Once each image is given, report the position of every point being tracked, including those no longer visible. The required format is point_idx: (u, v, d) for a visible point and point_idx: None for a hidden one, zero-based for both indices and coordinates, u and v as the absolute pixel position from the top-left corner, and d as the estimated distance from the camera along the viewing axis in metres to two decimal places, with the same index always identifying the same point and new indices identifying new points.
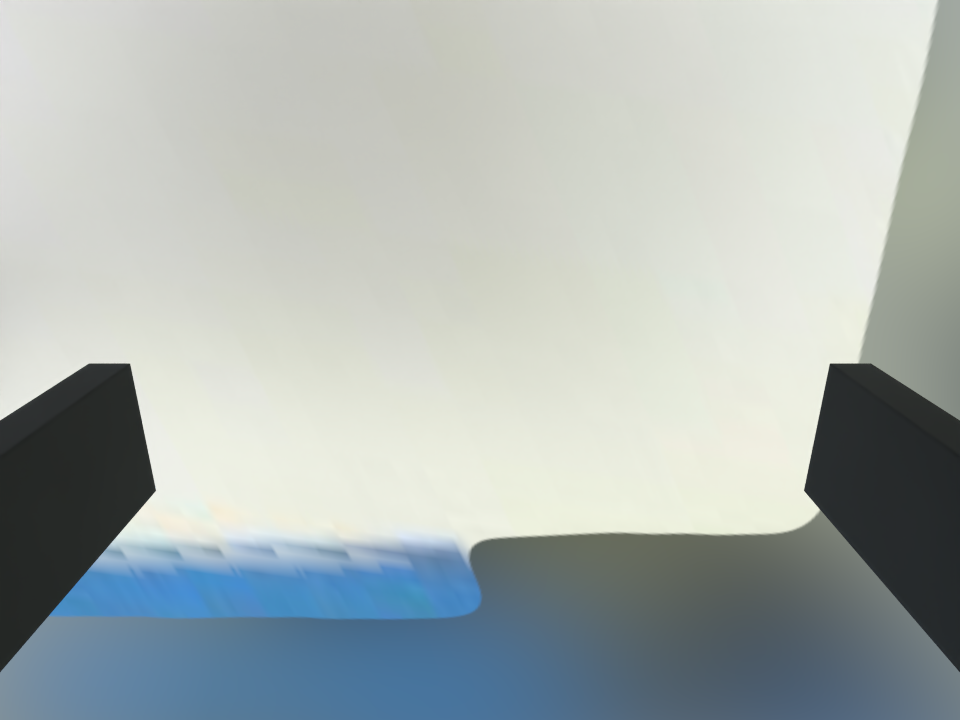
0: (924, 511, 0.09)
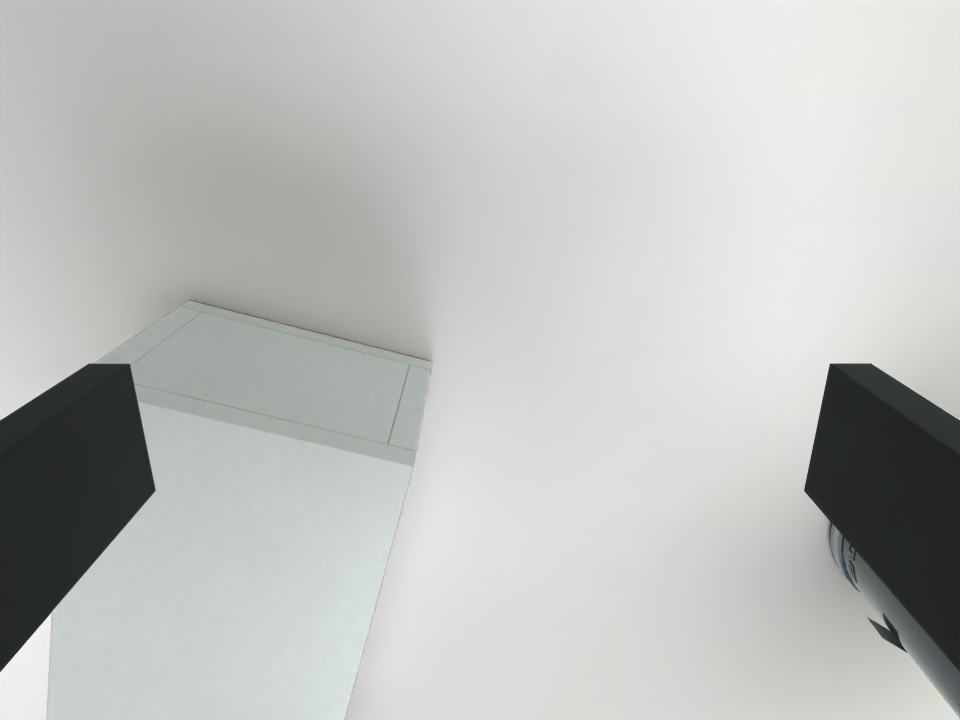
0: (924, 511, 0.09)
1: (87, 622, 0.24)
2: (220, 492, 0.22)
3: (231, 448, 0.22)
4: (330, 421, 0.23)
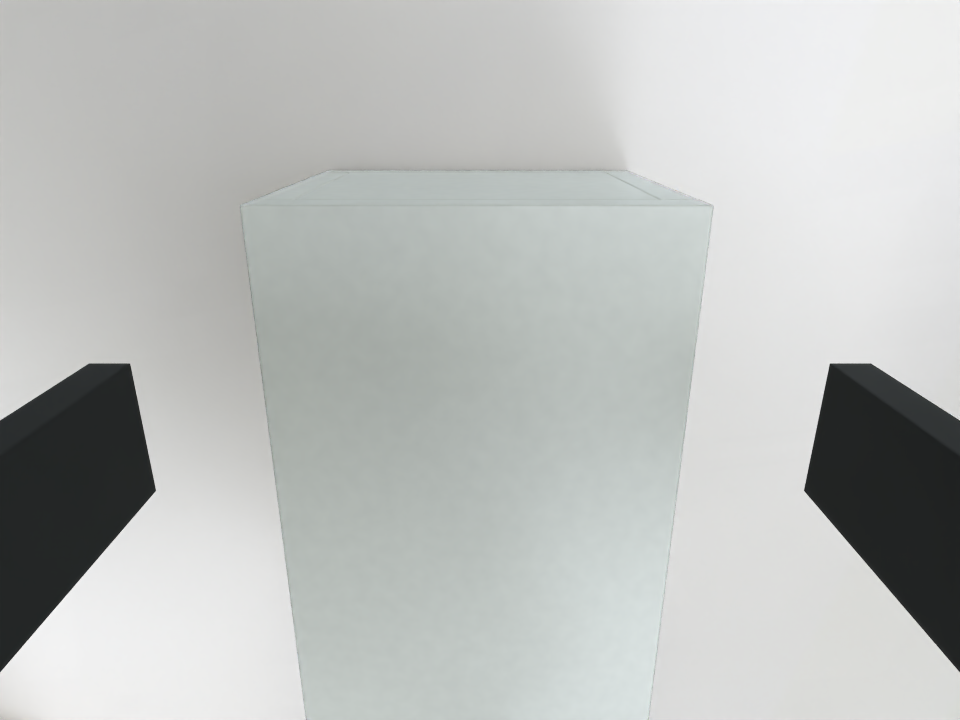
0: (924, 511, 0.09)
1: (326, 538, 0.19)
2: (462, 313, 0.17)
3: (467, 243, 0.16)
4: (574, 196, 0.17)
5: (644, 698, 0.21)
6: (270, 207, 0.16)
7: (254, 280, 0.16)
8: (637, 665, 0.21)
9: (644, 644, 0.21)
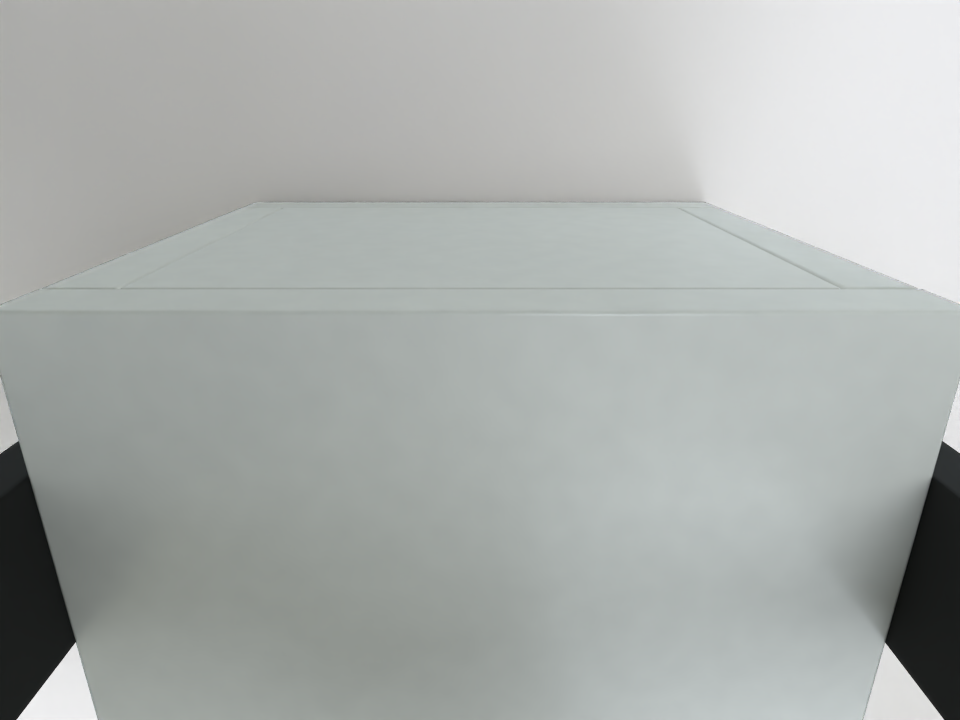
0: None
1: None
2: (451, 513, 0.08)
3: (461, 385, 0.08)
4: (666, 277, 0.09)
5: None
6: (46, 316, 0.07)
7: (32, 454, 0.08)
8: None
9: None
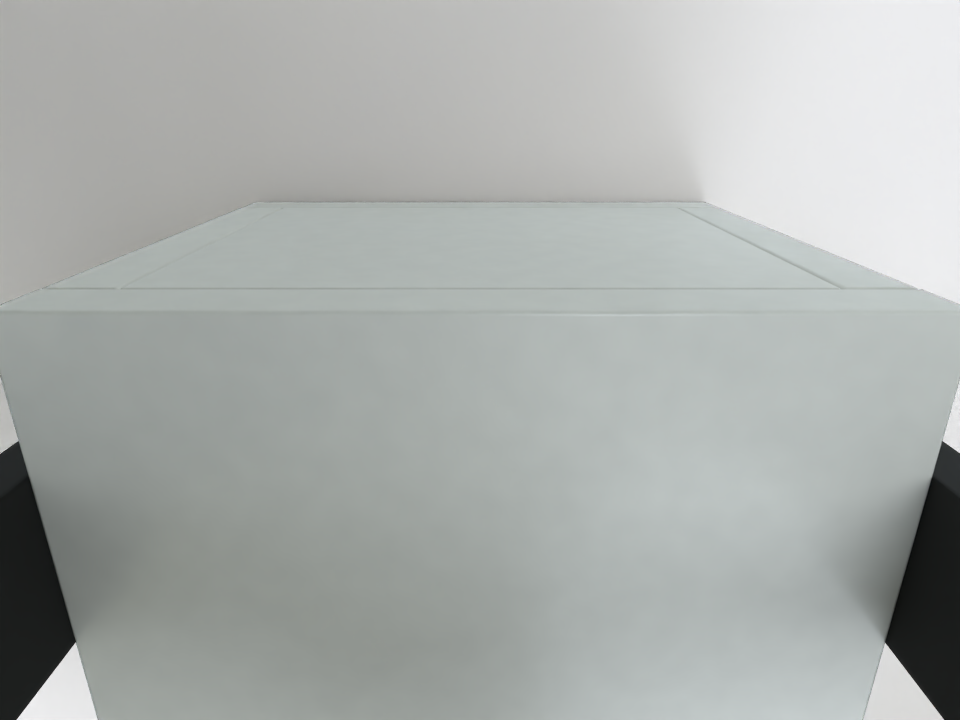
0: None
1: None
2: (451, 513, 0.08)
3: (461, 386, 0.08)
4: (666, 277, 0.09)
5: None
6: (46, 316, 0.07)
7: (33, 454, 0.08)
8: None
9: None
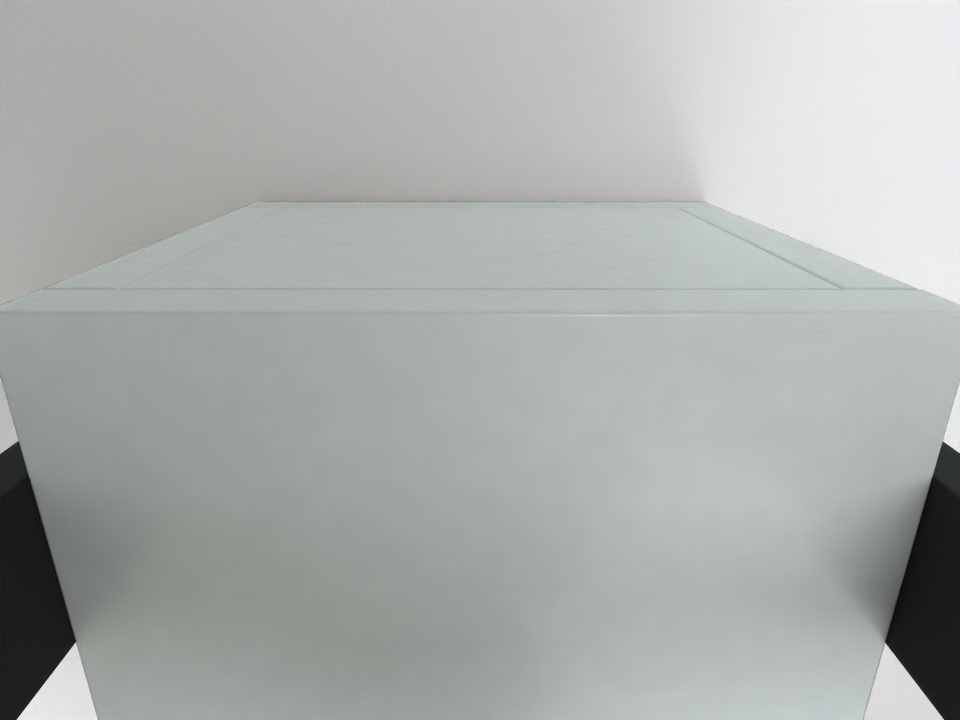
0: None
1: None
2: (451, 513, 0.08)
3: (461, 386, 0.08)
4: (666, 277, 0.09)
5: None
6: (46, 317, 0.07)
7: (33, 455, 0.08)
8: None
9: None
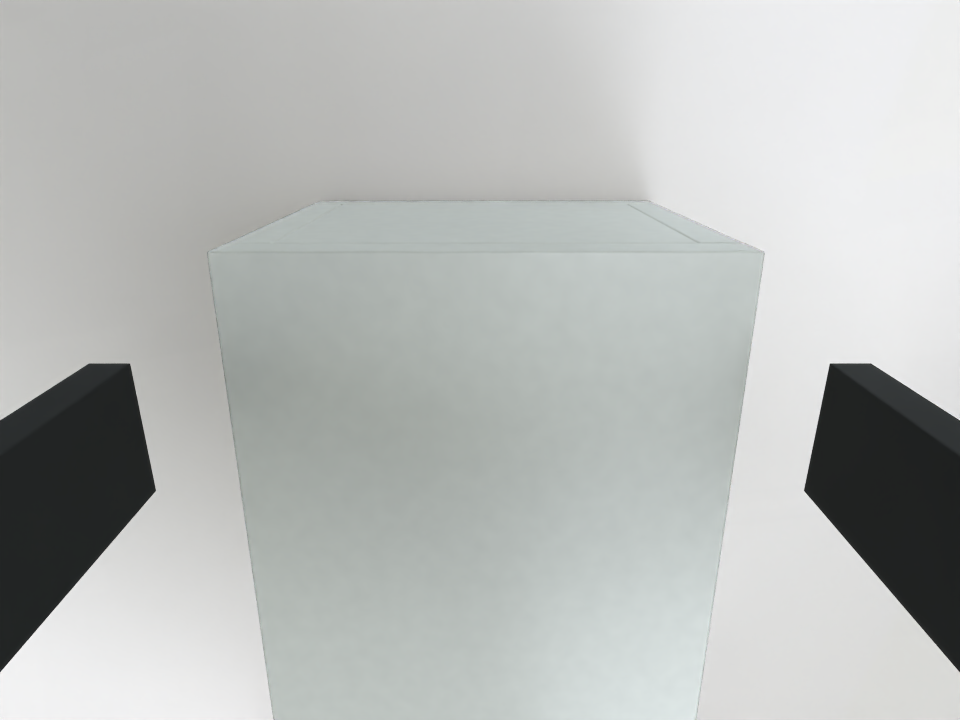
0: (924, 511, 0.09)
1: (311, 628, 0.17)
2: (468, 375, 0.14)
3: (474, 295, 0.14)
4: (597, 238, 0.15)
5: None
6: (242, 254, 0.13)
7: (225, 338, 0.14)
8: None
9: None
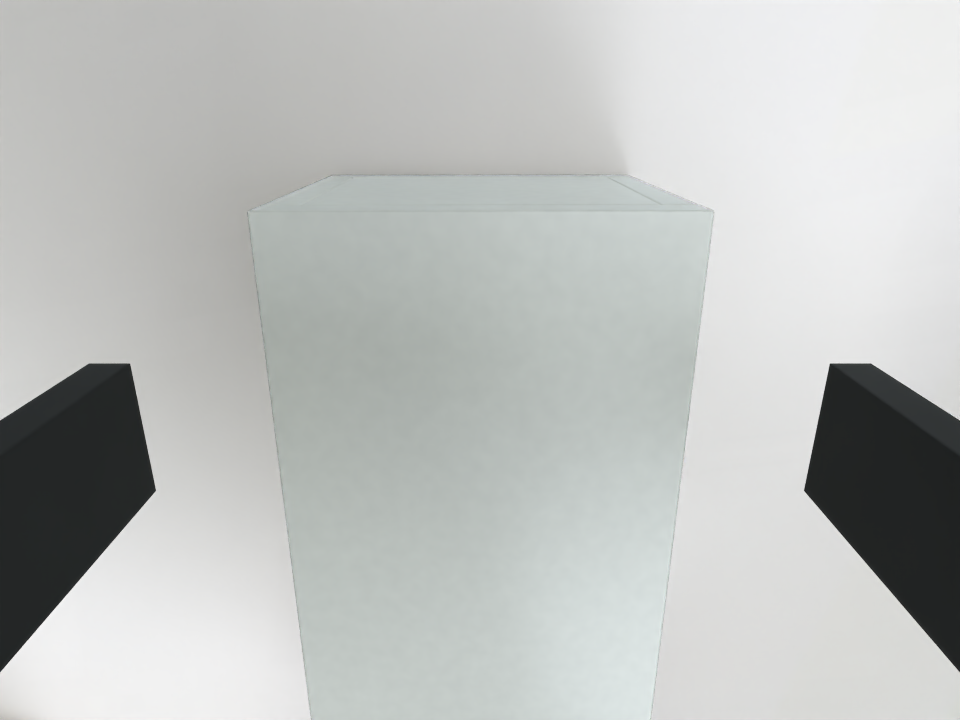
0: (924, 511, 0.09)
1: (332, 540, 0.19)
2: (466, 316, 0.17)
3: (471, 248, 0.16)
4: (576, 201, 0.17)
5: (646, 698, 0.22)
6: (277, 213, 0.16)
7: (261, 284, 0.17)
8: (639, 665, 0.21)
9: (647, 644, 0.21)
